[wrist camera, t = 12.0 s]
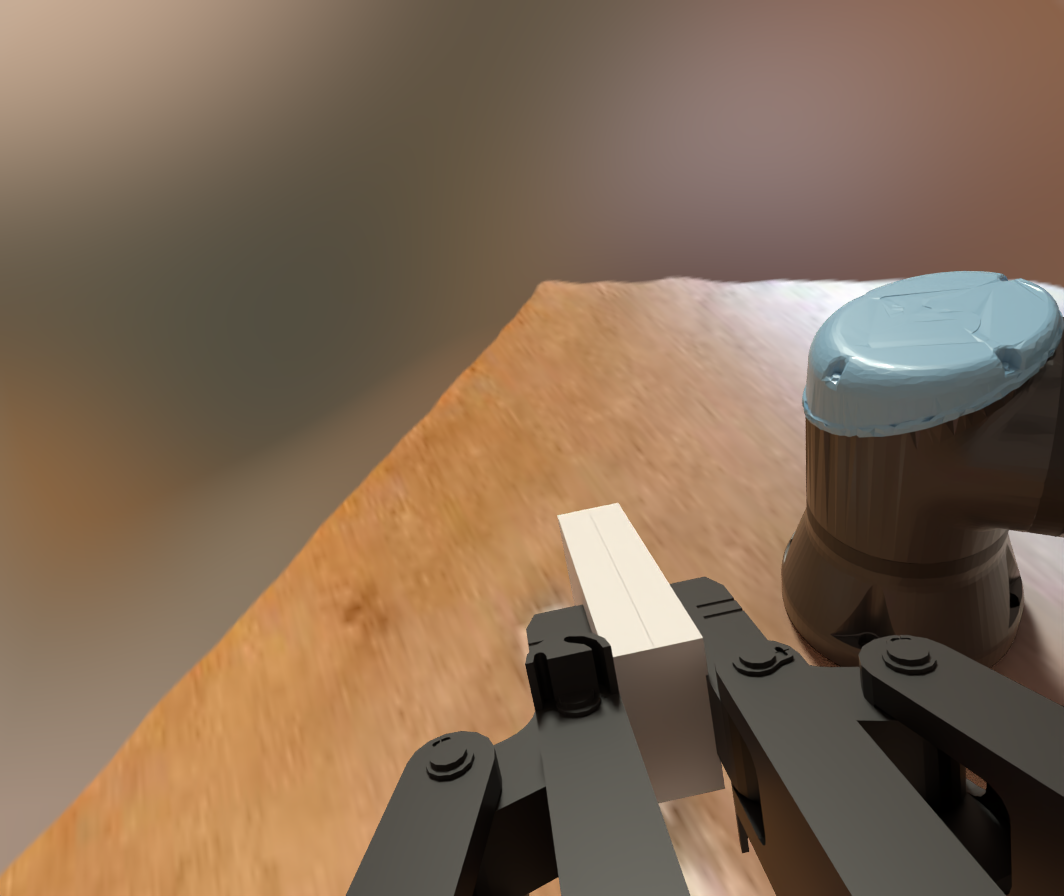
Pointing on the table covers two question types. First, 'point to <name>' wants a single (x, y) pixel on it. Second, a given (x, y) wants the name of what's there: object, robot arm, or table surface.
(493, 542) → the table surface
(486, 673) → the table surface
